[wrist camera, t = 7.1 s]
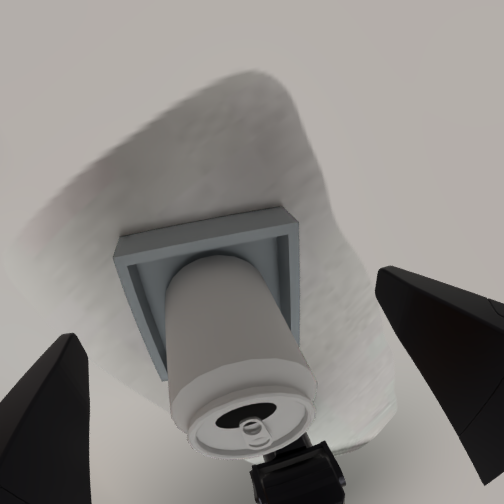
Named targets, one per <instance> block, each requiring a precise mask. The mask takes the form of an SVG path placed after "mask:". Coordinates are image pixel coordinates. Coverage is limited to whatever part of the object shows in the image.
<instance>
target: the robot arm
mask: <svg viewBox="0 0 504 504" xmlns="http://www.w3.org/2000/svg"><path fill="white" fill-rule="evenodd" d="M375 295H376V298H377V300H378V302H379V304H380V306H381V307H382V309H383V311H384V313H385V315H386V317H387V318H388V320H389V322H390V324H391V326H392V328H393V330H394V332H395V334H396V335H397V337H398V338H399V340H400V342H401V343H402V345H403V346H404V348H405V349H406V351H407V352H408V354H409V355H410V357H411V358H412V360H413V362H414V363H415V365H416V366H417V368H418V369H419V371H420V373H421V374H422V376H423V377H424V379H425V381H426V382H427V384H428V386H429V387H430V389H431V390H432V392H433V394H434V395H435V397H436V399H437V400H438V402H439V404H440V405H441V407H442V409H443V411H444V412H445V414H446V416H447V417H448V419H449V421H450V423H451V424H452V426H453V428H454V430H455V431H456V433H457V435H458V436H459V439H460V441H461V443H462V444H463V446H464V448H465V450H466V452H467V454H468V456H469V458H470V459H471V461H472V463H473V465H474V467H475V469H476V471H477V473H478V475H479V477H480V479H481V481H482V483H483V484H484V486H485V485H487V484H488V483H490V482H491V481H492V480H493V479H495V478H496V477H498V476H499V475H500V474H502V473H503V472H504V304H503V303H500V302H497V301H494V300H492V299H487V298H486V297H483V296H480V295H478V294H475V293H472V292H469V291H466V290H463V289H460V288H457V287H454V286H451V285H448V284H445V283H443V282H439V281H437V280H434V279H431V278H428V277H425V276H422V275H419V274H416V273H412V272H409V271H406V270H403V269H400V268H397V267H394V266H387V267H383V268H380V269H379V271H378V274H377V281H376V287H375ZM89 420H90V397H89V372H88V356H87V354H86V352H85V350H84V348H83V346H82V345H81V343H80V341H79V339H78V337H77V336H76V335H75V334H74V333H68V334H62V335H61V336H60V337H59V338H58V339H57V340H56V341H55V342H54V343H53V344H52V345H51V346H50V347H49V348H48V349H47V350H46V351H45V352H44V354H43V355H42V356H41V357H40V358H39V359H38V360H37V361H36V362H35V363H34V365H33V366H32V367H31V368H30V369H29V370H28V371H27V372H26V373H25V374H24V376H23V377H22V378H21V379H20V380H19V381H18V382H17V384H16V385H15V386H14V387H13V388H12V389H11V391H10V392H9V393H8V394H7V395H6V397H5V398H4V399H3V400H2V401H1V402H0V504H92V503H91V491H90V490H91V489H90V469H89ZM263 458H264V461H265V463H262V464H258V465H252V470H251V471H250V475H251V479H252V482H253V488H254V496H255V501H256V503H258V504H345V493H344V490H343V488H342V487H343V486H345V485H346V482H345V479H344V476H343V473H342V471H341V469H340V467H339V465H338V463H337V461H336V460H335V458H334V456H333V454H332V452H331V450H330V449H329V447H328V445H327V443H326V441H322V442H321V443H319V444H317V445H314V446H312V444H311V441H310V439H309V437H308V435H307V432H305V433H304V434H303V435H301V436H300V437H299V438H298V439H297V440H295V441H294V442H292V443H290V444H288V445H287V446H285V447H283V448H281V449H279V450H276V451H274V452H271V453H268V454H265V455H263Z"/></svg>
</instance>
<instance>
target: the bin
mask: <svg viewBox="0 0 504 504" xmlns="http://www.w3.org/2000/svg"><path fill="white" fill-rule="evenodd" d="M214 255H223V256H234V257H237V258H239V259H242V260H244V261H247V262H249V263H250V264H251V265H253V266H254V267H255V268H256V269H257V270H258V271H259V272H260V273H261V275H262V277H263V279H264V281H265V283H266V285H267V287H268V289H269V290H270V292H271V294H272V296H273V298H274V300H275V302H276V304H277V306H278V308H279V310H280V312H281V314H282V316H283V317H284V319H285V321H286V323H287V325H288V327H289V329H290V331H291V333H292V335H293V337H294V339H295V341H296V342H297V344H298V346H299V339H300V264H299V222H298V221H297V220H296V219H295V218H294V217H293V216H292V215H291V214H290V213H289V212H288V211H287V210H286V209H285V208H284V207H283V206H281V207H275V208H269V209H263V210H257V211H252V212H246V213H240V214H234V215H229V216H223V217H218V218H212V219H207V220H202V221H197V222H191V223H186V224H181V225H176V226H171V227H166V228H161V229H156V230H151V231H146V232H142V233H137V234H132V235H127V236H123V237H120V238H119V241H118V243H117V246H116V249H115V252H114V256H113V260H114V263H115V266H116V269H117V272H118V275H119V278H120V281H121V284H122V287H123V289H124V292H125V295H126V298H127V300H128V303H129V306H130V308H131V311H132V313H133V316H134V318H135V321H136V323H137V326H138V328H139V331H140V333H141V336H142V338H143V340H144V343H145V345H146V347H147V350H148V352H149V354H150V357H151V359H152V361H153V363H154V365H155V368H156V370H157V372H158V374H159V376H160V378H161V380H162V381H168V371H167V353H166V329H165V297H166V290H167V288H168V286H169V284H170V282H171V280H172V278H173V277H174V276H175V275H176V274H177V273H178V272H179V271H180V270H181V269H182V268H183V267H184V266H186V265H188V264H190V263H192V262H194V261H196V260H198V259H200V258H204V257H209V256H214Z"/></svg>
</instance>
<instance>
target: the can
mask: <svg viewBox="0 0 504 504" xmlns="http://www.w3.org/2000/svg"><path fill="white" fill-rule="evenodd" d="M165 329H166V353H167V371H168V385H169V398H170V410H171V418H172V419H173V421H174V422H175V424H176V426H177V428H178V429H180V430H181V431H183V432H184V433H186V434H187V441H188V442H189V444H190V445H191V447H192V448H193V449H194V450H196V451H197V452H199V453H201V454H202V455H204V456H208V457H212V458H216V459H229V460H237V459H247V458H253V457H257V456H261V455H265V454H268V453H271V452H274V451H276V450H279V449H281V448H283V447H285V446H287V445H288V444H290V443H292V442H294V441H295V440H297V439H298V438H299V437H300V436H301V435H303V434H304V433H305V432H306V431H307V430H308V429H309V427H310V426H311V424H312V422H313V421H314V419H315V414H316V407H315V406H314V404H313V400H314V398H315V396H316V390H317V381H316V379H315V377H314V375H313V373H312V371H311V369H310V367H309V366H308V364H307V362H306V360H305V358H304V356H303V354H302V352H301V350H300V348H299V346H298V344H297V342H296V341H295V339H294V337H293V335H292V333H291V331H290V329H289V327H288V325H287V323H286V321H285V319H284V317H283V316H282V314H281V312H280V310H279V308H278V306H277V304H276V302H275V300H274V298H273V296H272V294H271V292H270V290H269V289H268V287H267V285H266V283H265V281H264V279H263V277H262V275H261V273H260V272H259V271H258V270H257V269H256V268H255V267H254V266H253V265H251V264H250V263H249V262H247V261H244V260H242V259H239V258H237V257H234V256H223V255H214V256H209V257H204V258H200V259H198V260H196V261H194V262H192V263H190V264H188V265H186V266H184V267H183V268H182V269H181V270H180V271H179V272H178V273H177V274H176V275H175V276H174V277H173V278H172V280H171V282H170V284H169V286H168V288H167V290H166V297H165Z"/></svg>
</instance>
